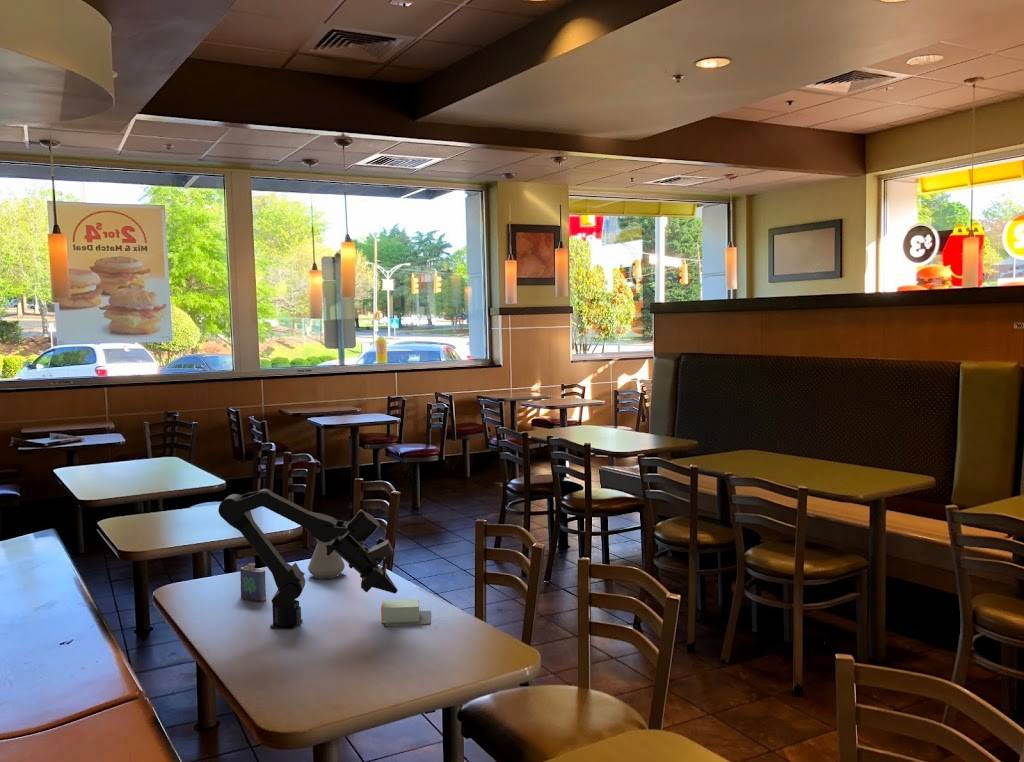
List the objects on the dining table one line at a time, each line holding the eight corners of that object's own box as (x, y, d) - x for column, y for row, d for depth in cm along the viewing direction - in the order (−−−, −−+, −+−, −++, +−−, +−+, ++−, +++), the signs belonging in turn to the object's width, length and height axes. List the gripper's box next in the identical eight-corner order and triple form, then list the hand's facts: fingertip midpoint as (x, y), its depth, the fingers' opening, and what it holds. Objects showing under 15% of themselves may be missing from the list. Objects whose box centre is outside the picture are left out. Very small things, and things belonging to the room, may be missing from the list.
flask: (268, 600, 250) (266, 563, 249) (260, 603, 247) (259, 566, 246) (245, 595, 254) (243, 560, 254) (237, 598, 252) (236, 562, 251)
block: (381, 608, 228) (418, 606, 229) (382, 601, 234) (419, 599, 235) (381, 623, 228) (419, 621, 229) (382, 615, 234) (419, 613, 235)
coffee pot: (302, 574, 275) (301, 528, 274) (336, 568, 281) (335, 523, 280) (327, 591, 257) (326, 542, 256) (363, 584, 263) (362, 536, 262)
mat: (384, 626, 227) (384, 625, 226) (386, 613, 236) (386, 612, 236) (430, 624, 228) (430, 623, 228) (430, 611, 238) (430, 610, 238)
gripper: (372, 540, 220) (416, 580, 222) (376, 523, 239) (417, 560, 241) (342, 572, 220) (387, 611, 222) (348, 552, 239) (389, 589, 240)
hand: (396, 591), depth 231 cm, fingers closed
